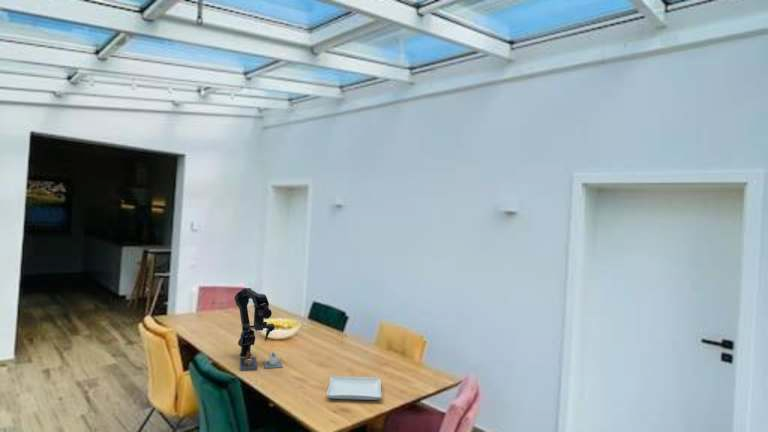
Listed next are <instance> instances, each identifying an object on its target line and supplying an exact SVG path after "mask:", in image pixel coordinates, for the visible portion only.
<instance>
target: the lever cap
mask: <svg viewBox="0 0 768 432" xmlns="http://www.w3.org/2000/svg"><path fill="white" fill-rule="evenodd" d="M268 354H269V355H268V361H269V364H270V366H271V365H277V360H278V354H277V353H275V352H272V353H268Z"/></svg>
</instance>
